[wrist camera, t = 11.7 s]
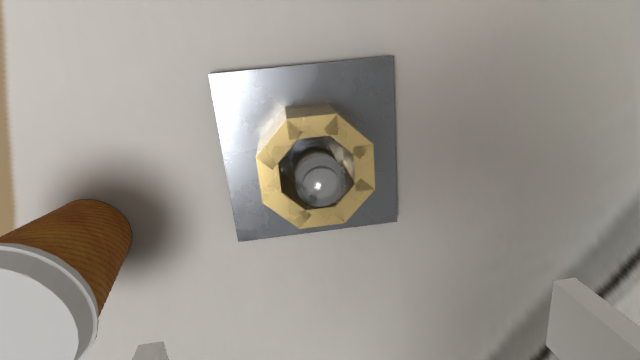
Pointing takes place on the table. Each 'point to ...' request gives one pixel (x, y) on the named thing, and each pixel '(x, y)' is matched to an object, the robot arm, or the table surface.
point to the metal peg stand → (307, 153)
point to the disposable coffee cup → (59, 280)
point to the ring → (282, 188)
